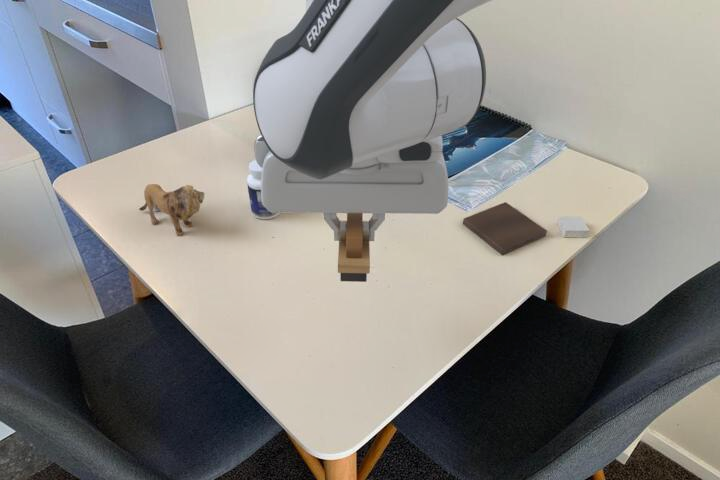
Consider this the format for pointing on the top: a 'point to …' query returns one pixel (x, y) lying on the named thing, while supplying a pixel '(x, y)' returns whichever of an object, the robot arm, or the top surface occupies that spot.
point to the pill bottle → (257, 192)
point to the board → (504, 228)
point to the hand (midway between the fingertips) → (354, 238)
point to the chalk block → (573, 227)
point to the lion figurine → (173, 204)
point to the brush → (354, 251)
